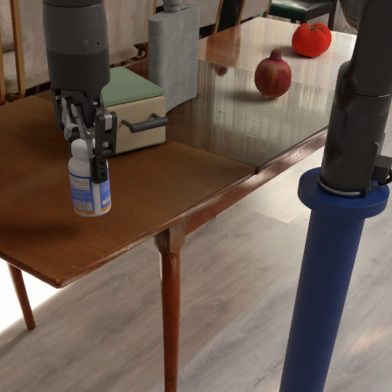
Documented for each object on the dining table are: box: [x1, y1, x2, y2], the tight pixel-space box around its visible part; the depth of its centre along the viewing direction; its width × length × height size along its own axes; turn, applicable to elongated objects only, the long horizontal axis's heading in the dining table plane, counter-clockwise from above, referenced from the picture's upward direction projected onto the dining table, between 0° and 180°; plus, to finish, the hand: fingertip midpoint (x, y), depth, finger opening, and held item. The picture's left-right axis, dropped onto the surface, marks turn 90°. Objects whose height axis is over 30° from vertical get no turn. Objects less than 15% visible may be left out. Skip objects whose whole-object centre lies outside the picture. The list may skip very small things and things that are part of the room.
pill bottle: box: [67, 138, 112, 218], centre depth 87 cm, size 5×5×10 cm
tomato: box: [291, 22, 333, 58], centre depth 159 cm, size 10×11×6 cm
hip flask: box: [147, 0, 201, 115], centre depth 124 cm, size 16×4×20 cm, turn 150°
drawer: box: [105, 96, 169, 153], centre depth 112 cm, size 18×11×8 cm, turn 35°
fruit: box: [253, 48, 293, 99], centre depth 132 cm, size 8×8×10 cm
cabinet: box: [87, 65, 165, 156], centre depth 115 cm, size 15×13×10 cm
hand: (88, 172), depth 86 cm, fingers closed on pill bottle, 5 cm apart
